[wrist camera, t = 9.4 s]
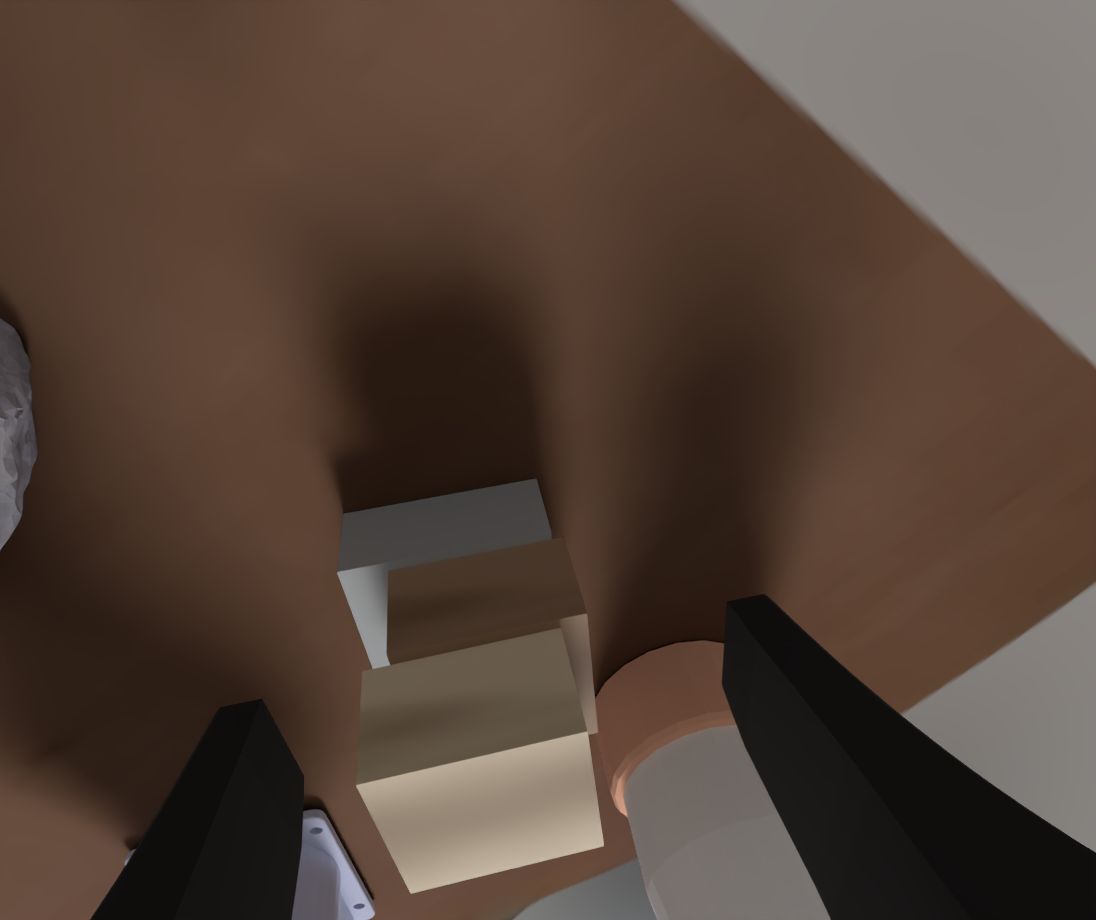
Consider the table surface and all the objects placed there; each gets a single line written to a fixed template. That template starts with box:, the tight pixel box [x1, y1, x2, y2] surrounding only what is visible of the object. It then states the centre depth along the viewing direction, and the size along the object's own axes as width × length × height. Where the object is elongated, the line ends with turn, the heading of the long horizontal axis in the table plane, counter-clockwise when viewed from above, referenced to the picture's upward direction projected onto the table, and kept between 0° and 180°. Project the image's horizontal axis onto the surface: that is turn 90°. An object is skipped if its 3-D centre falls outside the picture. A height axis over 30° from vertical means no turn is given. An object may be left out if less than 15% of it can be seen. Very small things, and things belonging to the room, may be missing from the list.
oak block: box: [356, 628, 604, 893], centre depth 17 cm, size 5×5×3 cm
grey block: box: [337, 479, 552, 669], centre depth 22 cm, size 6×6×3 cm
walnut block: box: [386, 537, 598, 735], centre depth 20 cm, size 5×5×3 cm
